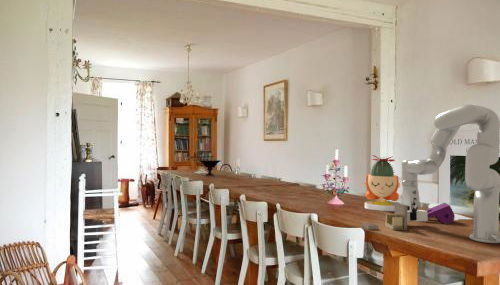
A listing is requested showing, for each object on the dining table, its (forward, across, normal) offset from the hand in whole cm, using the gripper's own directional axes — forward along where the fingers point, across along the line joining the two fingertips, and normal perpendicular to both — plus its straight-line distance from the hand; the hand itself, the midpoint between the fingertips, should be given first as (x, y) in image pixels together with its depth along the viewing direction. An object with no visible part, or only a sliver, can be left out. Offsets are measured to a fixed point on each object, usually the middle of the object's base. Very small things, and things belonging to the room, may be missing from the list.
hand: (410, 219), depth 201 cm
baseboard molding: (+4, +30, -37) cm, 48 cm away
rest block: (+3, -6, +24) cm, 25 cm away
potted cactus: (+2, +55, -7) cm, 56 cm away
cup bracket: (+3, -6, +12) cm, 14 cm away
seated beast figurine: (+3, +34, -12) cm, 36 cm away
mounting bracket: (+4, +13, -19) cm, 23 cm away
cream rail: (+1, 0, -1) cm, 1 cm away
